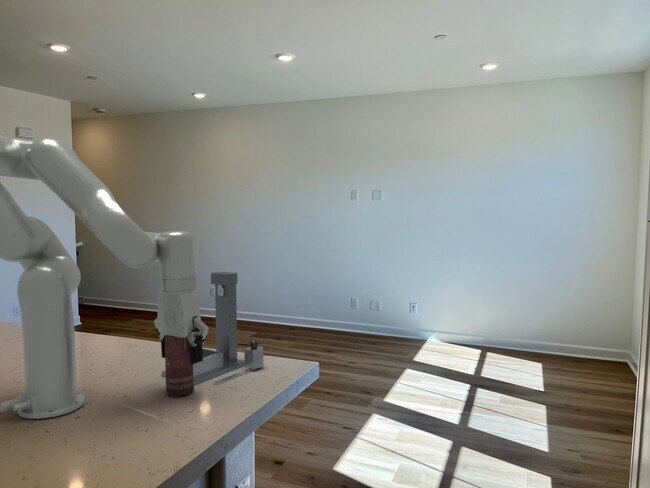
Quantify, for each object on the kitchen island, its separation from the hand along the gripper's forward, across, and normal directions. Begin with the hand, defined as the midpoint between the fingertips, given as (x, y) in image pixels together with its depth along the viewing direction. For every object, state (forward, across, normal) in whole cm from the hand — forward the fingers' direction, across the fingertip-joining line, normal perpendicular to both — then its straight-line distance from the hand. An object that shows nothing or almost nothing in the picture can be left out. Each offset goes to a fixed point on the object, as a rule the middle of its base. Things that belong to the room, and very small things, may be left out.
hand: (182, 359), depth 109 cm
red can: (+8, 0, -1) cm, 8 cm away
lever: (+8, +2, +21) cm, 23 cm away
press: (+8, -8, +13) cm, 17 cm away
